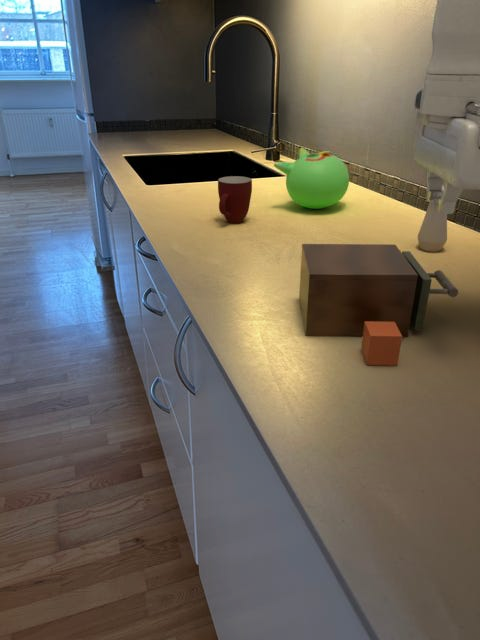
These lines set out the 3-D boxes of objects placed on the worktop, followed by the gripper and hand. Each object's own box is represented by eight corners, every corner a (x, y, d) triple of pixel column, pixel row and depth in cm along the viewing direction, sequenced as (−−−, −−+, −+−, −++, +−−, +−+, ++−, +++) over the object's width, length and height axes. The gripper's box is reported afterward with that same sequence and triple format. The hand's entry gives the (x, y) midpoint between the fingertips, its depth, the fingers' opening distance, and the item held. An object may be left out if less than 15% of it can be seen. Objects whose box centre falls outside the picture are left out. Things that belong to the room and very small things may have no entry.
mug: (240, 230, 118) (240, 187, 114) (209, 226, 121) (207, 184, 116) (256, 218, 127) (256, 177, 122) (226, 215, 130) (225, 175, 125)
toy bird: (331, 219, 126) (336, 157, 119) (270, 210, 134) (271, 152, 127) (355, 203, 140) (360, 147, 133) (298, 195, 147) (301, 142, 141)
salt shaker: (445, 254, 104) (457, 190, 98) (415, 251, 105) (425, 188, 99) (444, 245, 108) (456, 183, 103) (416, 242, 110) (426, 181, 104)
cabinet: (387, 299, 84) (395, 244, 80) (407, 337, 73) (418, 274, 69) (299, 299, 85) (302, 243, 80) (305, 335, 74) (309, 273, 69)
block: (390, 350, 70) (394, 321, 68) (397, 365, 66) (402, 336, 64) (361, 349, 70) (364, 321, 68) (366, 365, 67) (370, 335, 65)
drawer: (432, 296, 83) (441, 251, 80) (457, 330, 73) (468, 279, 70) (319, 295, 84) (323, 250, 80) (328, 328, 74) (332, 278, 70)
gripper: (521, 106, 55) (493, 230, 62) (455, 94, 73) (439, 190, 80) (462, 106, 55) (440, 230, 62) (411, 94, 74) (398, 190, 80)
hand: (439, 207), depth 71 cm, fingers open, 4 cm apart
